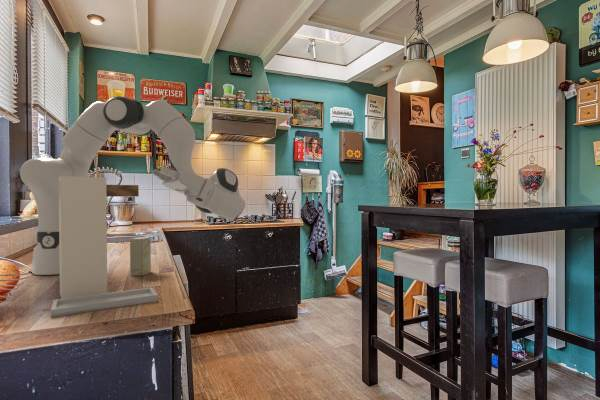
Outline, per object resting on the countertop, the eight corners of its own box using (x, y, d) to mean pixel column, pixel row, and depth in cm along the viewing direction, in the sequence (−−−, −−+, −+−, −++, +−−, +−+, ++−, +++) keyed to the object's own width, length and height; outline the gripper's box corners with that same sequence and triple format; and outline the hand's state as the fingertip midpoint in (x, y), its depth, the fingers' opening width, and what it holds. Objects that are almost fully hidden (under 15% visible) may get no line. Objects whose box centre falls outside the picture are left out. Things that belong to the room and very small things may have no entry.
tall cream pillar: (102, 287, 100) (101, 178, 100) (107, 294, 93) (106, 177, 93) (59, 293, 94) (58, 177, 94) (61, 301, 87) (60, 176, 87)
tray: (152, 293, 94) (151, 287, 94) (157, 301, 87) (157, 294, 87) (53, 306, 83) (53, 299, 83) (51, 317, 75) (50, 309, 75)
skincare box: (143, 275, 115) (142, 238, 115) (129, 275, 115) (129, 238, 115) (151, 271, 121) (151, 236, 121) (138, 271, 121) (138, 236, 121)
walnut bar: (136, 196, 103) (136, 185, 103) (138, 196, 100) (138, 185, 100) (61, 196, 92) (61, 184, 92) (62, 196, 89) (62, 183, 89)
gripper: (192, 183, 121) (153, 164, 113) (214, 180, 104) (171, 157, 97) (184, 200, 119) (144, 181, 112) (205, 199, 102) (161, 177, 95)
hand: (157, 170), depth 104 cm, fingers open, 8 cm apart
